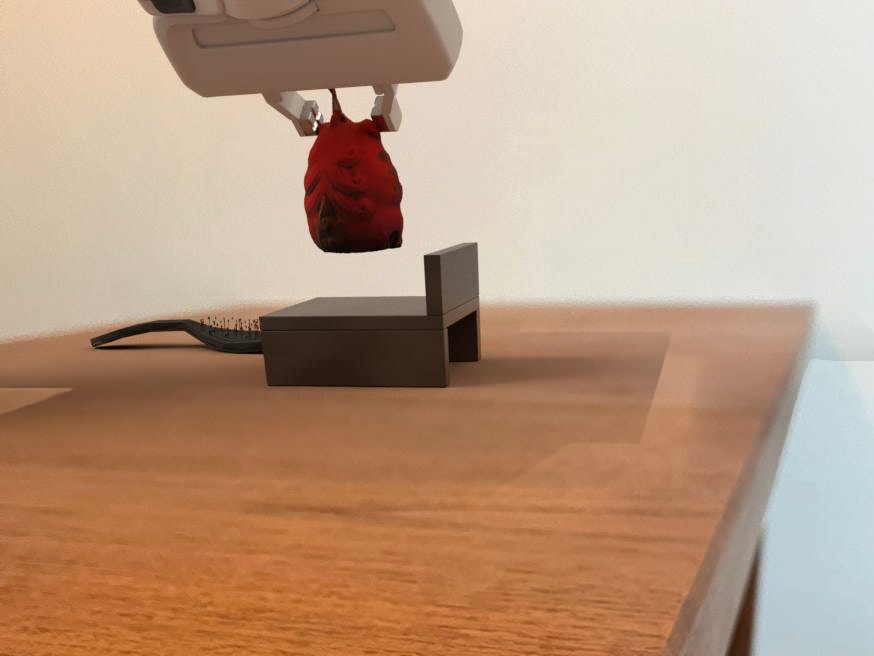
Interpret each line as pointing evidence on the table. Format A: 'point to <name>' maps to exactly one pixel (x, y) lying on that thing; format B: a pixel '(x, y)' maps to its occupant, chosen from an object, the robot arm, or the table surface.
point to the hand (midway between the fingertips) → (351, 127)
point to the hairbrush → (195, 334)
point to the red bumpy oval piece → (352, 188)
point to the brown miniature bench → (381, 332)
